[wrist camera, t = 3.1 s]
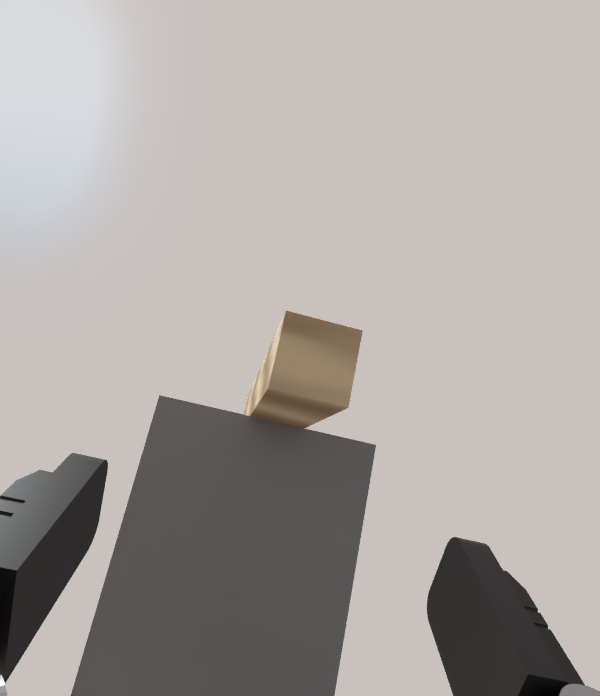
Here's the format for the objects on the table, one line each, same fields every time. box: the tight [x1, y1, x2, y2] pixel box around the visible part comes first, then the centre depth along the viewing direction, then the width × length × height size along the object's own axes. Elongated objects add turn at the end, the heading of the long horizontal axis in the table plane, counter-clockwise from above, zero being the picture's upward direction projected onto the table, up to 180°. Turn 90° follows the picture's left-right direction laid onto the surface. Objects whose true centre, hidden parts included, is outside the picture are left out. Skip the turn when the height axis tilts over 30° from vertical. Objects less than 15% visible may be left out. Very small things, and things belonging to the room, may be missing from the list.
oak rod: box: [243, 311, 362, 428], centre depth 29 cm, size 22×3×3 cm, turn 10°
